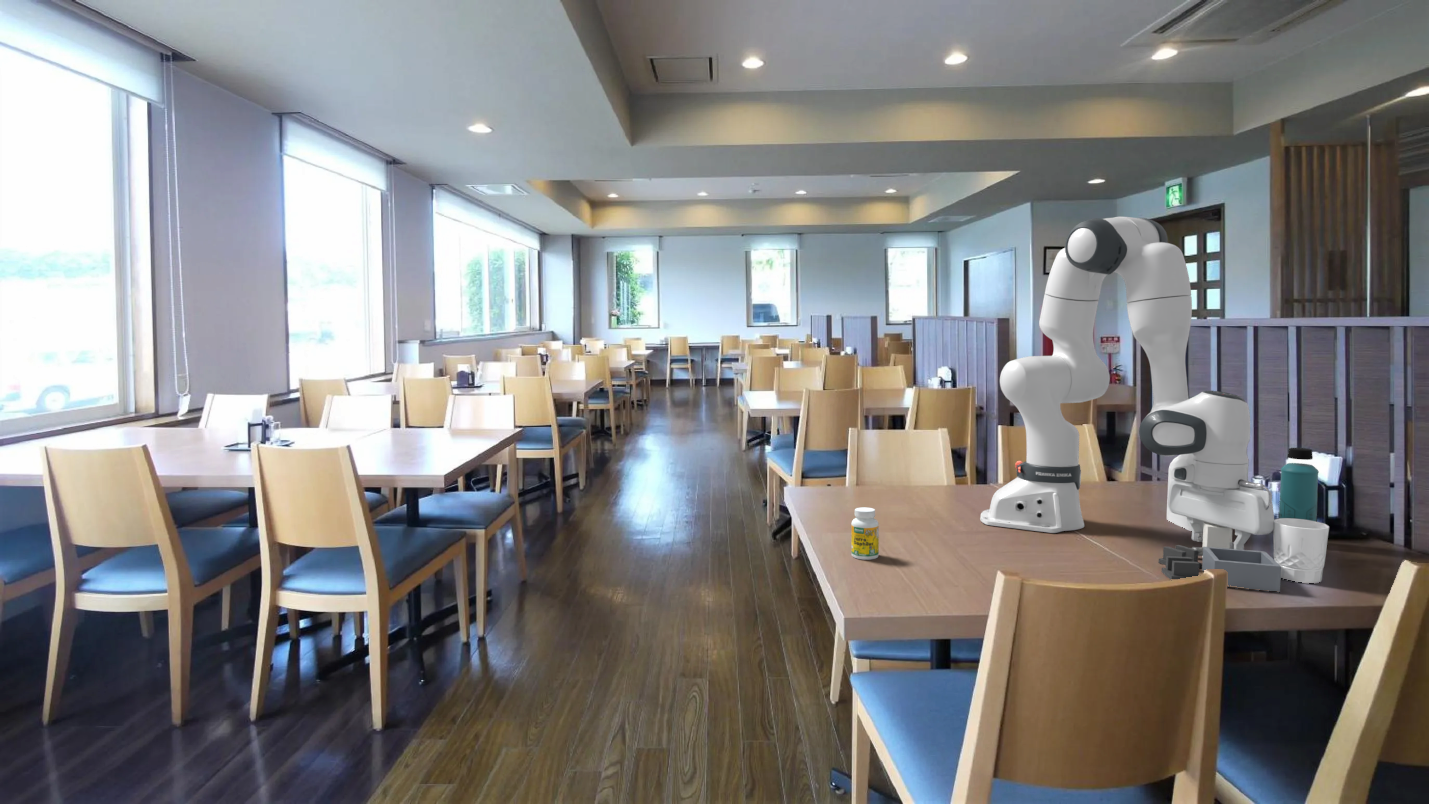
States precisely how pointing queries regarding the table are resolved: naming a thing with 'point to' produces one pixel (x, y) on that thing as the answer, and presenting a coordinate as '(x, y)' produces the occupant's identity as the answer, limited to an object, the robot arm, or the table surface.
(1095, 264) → the robot arm
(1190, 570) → the clip
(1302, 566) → the white cup
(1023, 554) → the table surface
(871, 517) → the supplement bottle
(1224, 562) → the gray square tray
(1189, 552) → the clip
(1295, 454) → the beverage bottle
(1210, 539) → the block
